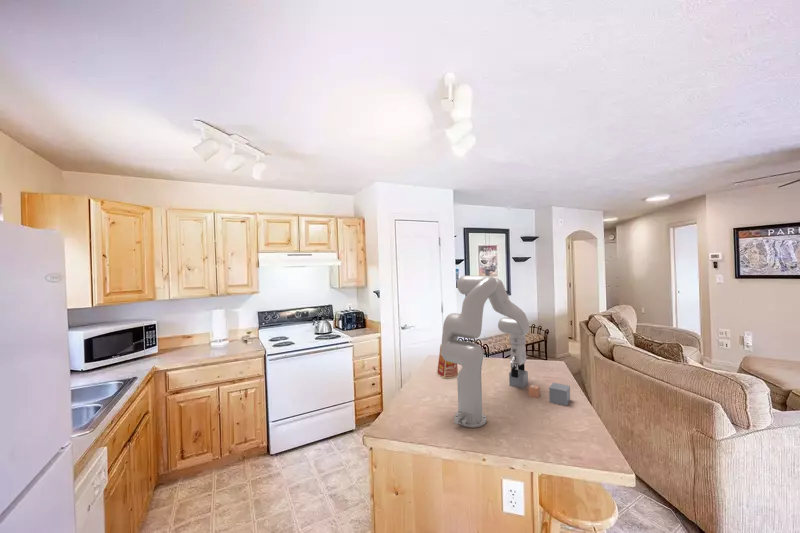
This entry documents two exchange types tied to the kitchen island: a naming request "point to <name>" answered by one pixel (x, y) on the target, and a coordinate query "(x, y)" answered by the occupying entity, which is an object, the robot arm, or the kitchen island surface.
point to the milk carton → (446, 368)
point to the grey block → (559, 394)
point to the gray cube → (519, 379)
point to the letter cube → (534, 391)
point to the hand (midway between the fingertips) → (518, 374)
